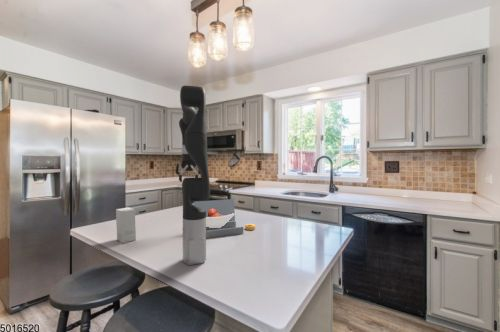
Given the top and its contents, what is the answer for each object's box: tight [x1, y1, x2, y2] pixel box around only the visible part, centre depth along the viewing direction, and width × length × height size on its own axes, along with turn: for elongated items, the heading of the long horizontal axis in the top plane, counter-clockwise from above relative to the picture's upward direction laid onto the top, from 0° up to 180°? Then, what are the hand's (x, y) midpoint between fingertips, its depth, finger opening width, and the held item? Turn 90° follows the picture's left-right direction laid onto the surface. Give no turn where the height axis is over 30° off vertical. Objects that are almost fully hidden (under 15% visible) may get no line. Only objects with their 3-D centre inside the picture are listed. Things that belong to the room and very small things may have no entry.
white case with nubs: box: [206, 220, 244, 239], centre depth 131 cm, size 13×24×4 cm, turn 114°
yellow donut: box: [244, 223, 256, 231], centre depth 138 cm, size 6×6×2 cm
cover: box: [193, 198, 236, 222], centre depth 138 cm, size 13×24×1 cm
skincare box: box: [115, 206, 137, 244], centre depth 117 cm, size 8×7×16 cm
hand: (188, 181), depth 136 cm, fingers open, 8 cm apart
